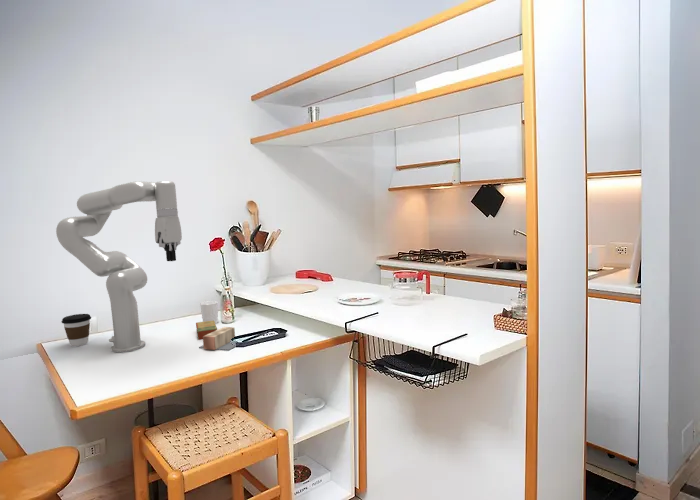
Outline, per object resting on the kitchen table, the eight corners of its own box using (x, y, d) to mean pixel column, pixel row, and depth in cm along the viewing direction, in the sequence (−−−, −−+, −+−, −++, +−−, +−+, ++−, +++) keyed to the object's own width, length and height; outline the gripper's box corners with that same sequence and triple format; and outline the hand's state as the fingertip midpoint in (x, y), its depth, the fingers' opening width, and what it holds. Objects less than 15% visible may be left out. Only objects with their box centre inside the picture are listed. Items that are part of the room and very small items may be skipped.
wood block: (202, 336, 184) (224, 326, 197) (203, 349, 184) (225, 338, 197) (213, 337, 182) (234, 327, 195) (214, 349, 182) (235, 339, 195)
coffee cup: (80, 348, 194) (77, 320, 192) (57, 348, 196) (54, 319, 195) (99, 340, 204) (96, 313, 203) (77, 340, 206) (75, 313, 205)
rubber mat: (198, 348, 187) (198, 347, 187) (223, 336, 202) (223, 335, 202) (228, 350, 182) (228, 349, 182) (251, 338, 197) (251, 337, 197)
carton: (215, 329, 216) (214, 319, 216) (218, 338, 201) (217, 328, 201) (196, 331, 213) (195, 322, 213) (198, 340, 198) (197, 331, 198)
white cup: (201, 322, 228) (199, 302, 227) (218, 320, 231) (216, 300, 229) (202, 326, 220) (200, 305, 219) (219, 324, 223) (218, 303, 222)
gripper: (173, 213, 190) (176, 258, 192) (145, 214, 176) (149, 263, 178) (188, 212, 188) (192, 258, 190) (161, 214, 174) (165, 263, 176)
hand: (171, 260), depth 184 cm, fingers closed
